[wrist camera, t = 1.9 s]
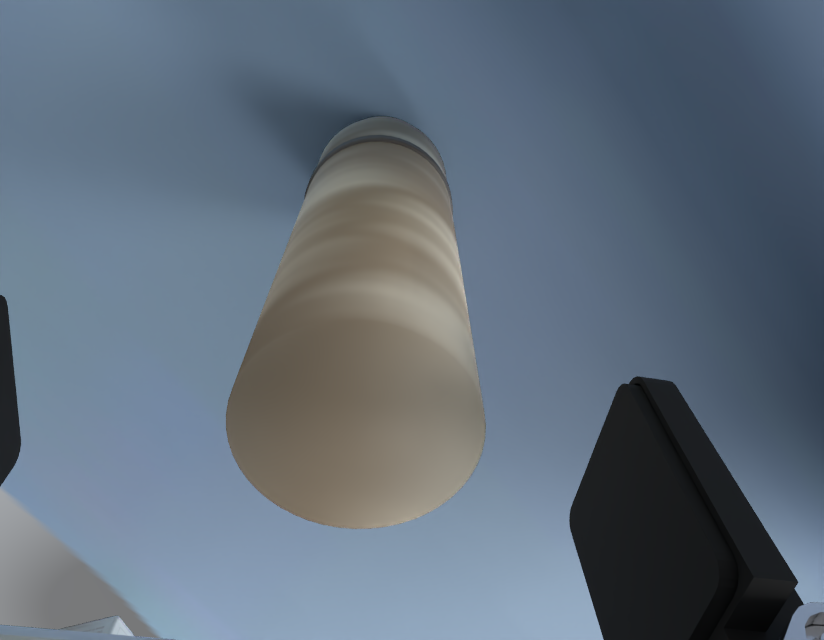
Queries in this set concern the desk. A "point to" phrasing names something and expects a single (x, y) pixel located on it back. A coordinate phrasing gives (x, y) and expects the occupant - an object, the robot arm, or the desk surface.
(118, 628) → the supplement box
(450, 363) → the ash peg
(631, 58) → the desk surface
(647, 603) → the robot arm
